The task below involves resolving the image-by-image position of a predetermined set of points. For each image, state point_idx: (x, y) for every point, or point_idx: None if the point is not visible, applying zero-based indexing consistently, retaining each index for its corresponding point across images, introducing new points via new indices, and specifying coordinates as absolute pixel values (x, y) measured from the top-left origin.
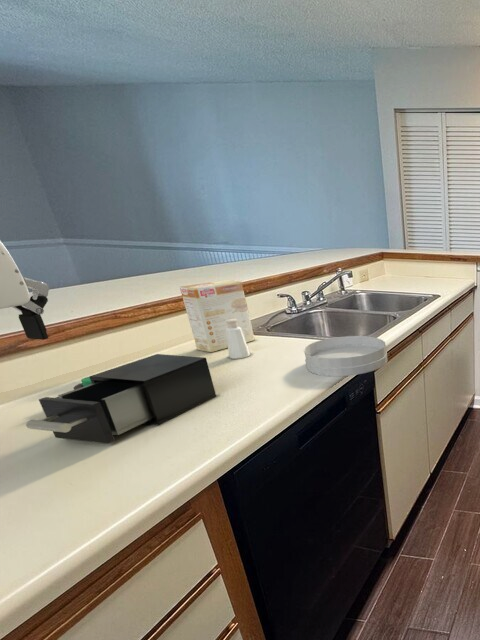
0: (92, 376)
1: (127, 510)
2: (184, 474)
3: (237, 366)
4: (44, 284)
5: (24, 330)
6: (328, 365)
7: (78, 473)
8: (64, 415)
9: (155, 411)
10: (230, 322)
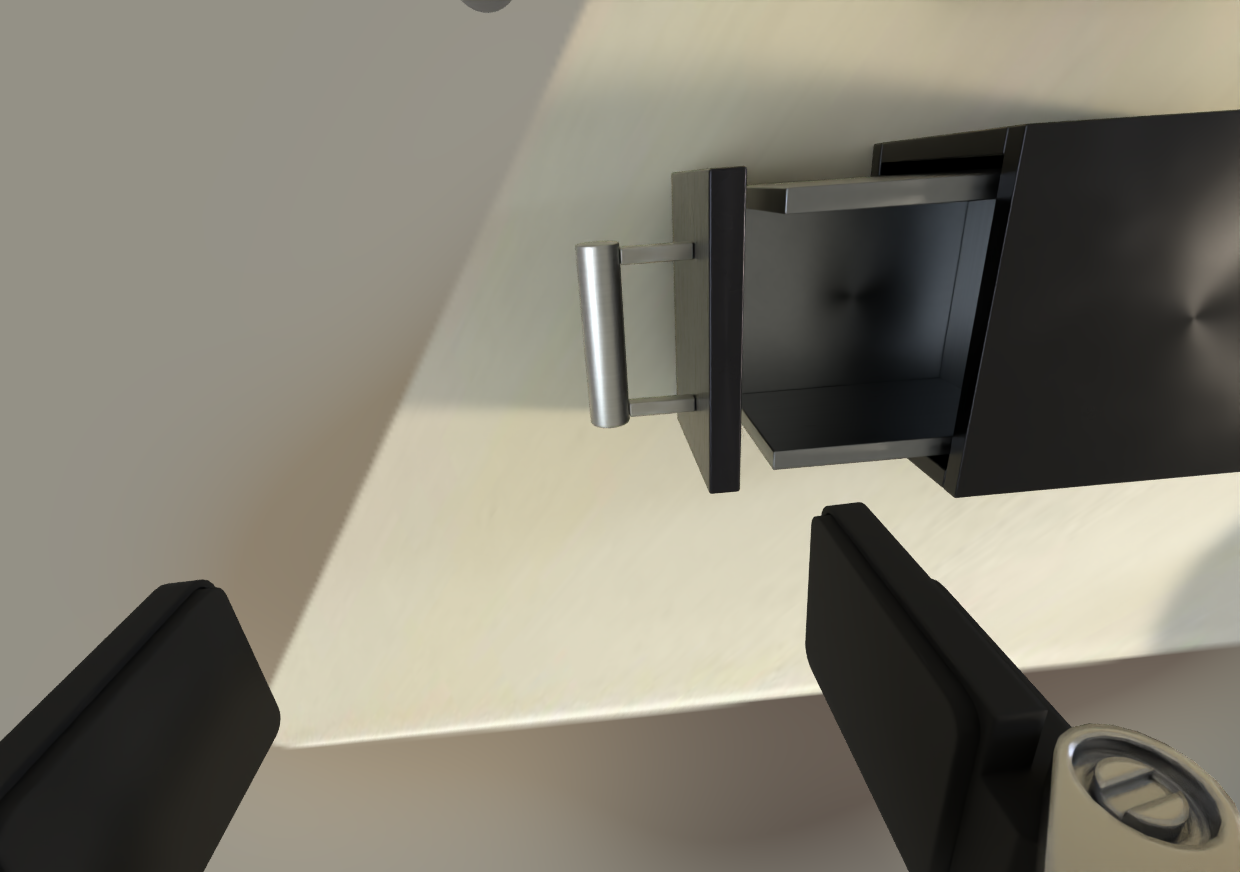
0: (1023, 152)
1: (465, 713)
2: (609, 702)
3: None
4: None
5: (848, 566)
6: None
7: (534, 476)
8: (693, 295)
9: None
10: None
